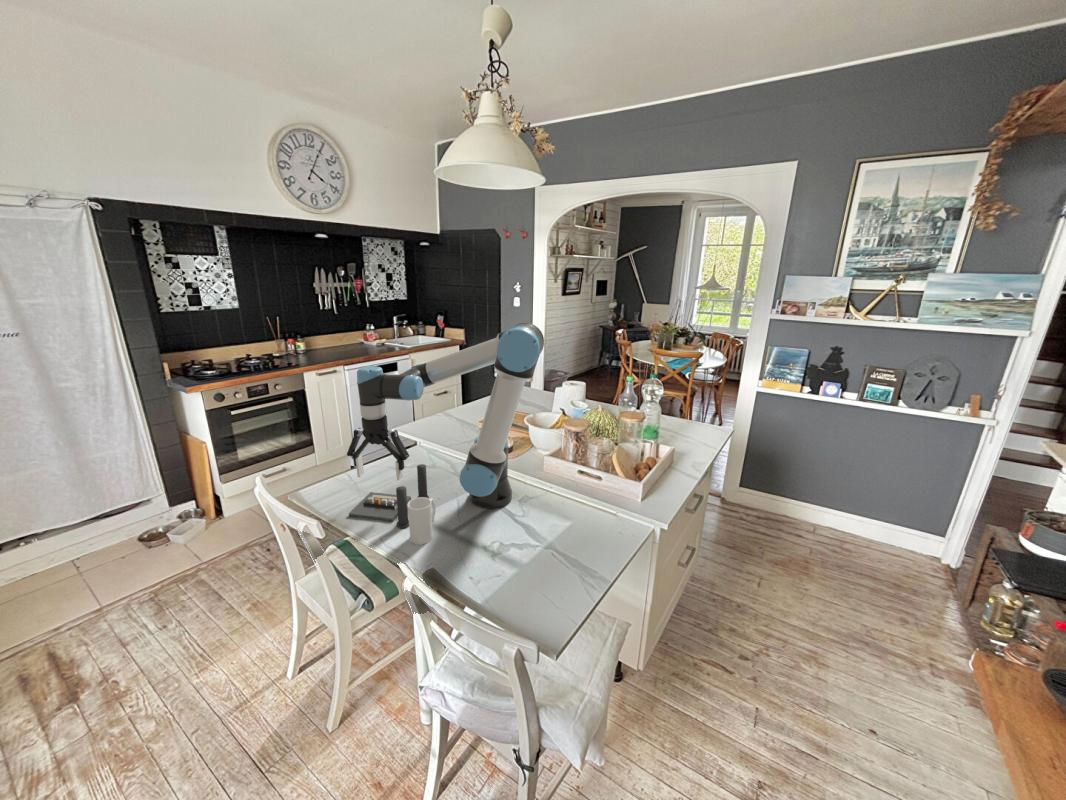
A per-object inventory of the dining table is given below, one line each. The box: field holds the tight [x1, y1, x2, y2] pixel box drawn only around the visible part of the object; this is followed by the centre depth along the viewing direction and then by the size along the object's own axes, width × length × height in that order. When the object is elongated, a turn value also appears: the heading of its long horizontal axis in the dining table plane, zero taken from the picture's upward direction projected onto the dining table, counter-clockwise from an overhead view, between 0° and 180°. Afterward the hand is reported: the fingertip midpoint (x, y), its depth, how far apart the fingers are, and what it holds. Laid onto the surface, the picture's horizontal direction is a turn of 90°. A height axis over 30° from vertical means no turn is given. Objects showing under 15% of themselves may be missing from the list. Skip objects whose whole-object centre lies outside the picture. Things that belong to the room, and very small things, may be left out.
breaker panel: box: [348, 491, 412, 523], centre depth 142 cm, size 15×14×3 cm
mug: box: [407, 497, 437, 545], centre depth 126 cm, size 10×7×12 cm, turn 152°
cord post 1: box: [395, 485, 409, 529], centre depth 131 cm, size 4×4×13 cm
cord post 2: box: [416, 463, 430, 499], centre depth 146 cm, size 4×4×13 cm
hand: (380, 476), depth 139 cm, fingers open, 13 cm apart
